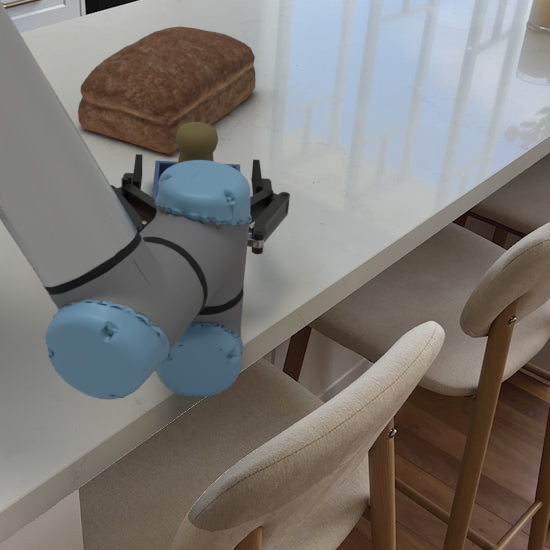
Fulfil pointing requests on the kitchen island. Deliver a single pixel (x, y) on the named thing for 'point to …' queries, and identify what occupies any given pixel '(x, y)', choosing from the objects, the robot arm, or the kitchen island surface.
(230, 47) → the bread
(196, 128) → the olive green pawn
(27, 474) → the kitchen island surface
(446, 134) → the kitchen island surface
